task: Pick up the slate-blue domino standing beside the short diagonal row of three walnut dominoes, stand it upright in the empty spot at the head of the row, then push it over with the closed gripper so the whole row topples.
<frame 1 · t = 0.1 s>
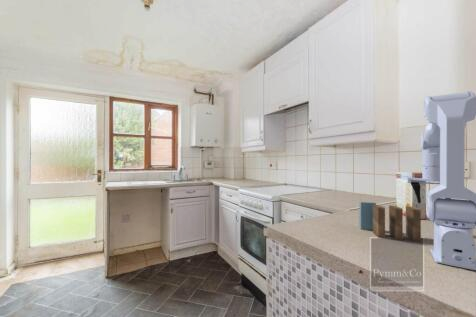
hand: (432, 204, 79), 10 cm above the counter, tool pointing down, fingers open, 7 cm apart
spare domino: (367, 229, 81), on the counter
domino 4: (413, 238, 72), on the counter
domino 3: (395, 236, 73), on the counter
cracker box: (410, 216, 104), on the counter
domino 2: (378, 235, 75), on the counter
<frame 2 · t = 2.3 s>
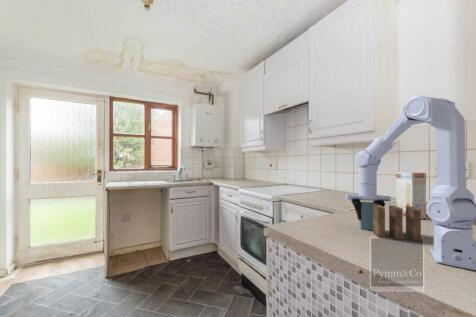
hand: (367, 220, 81), 3 cm above the counter, tool pointing down, fingers closed on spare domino, 5 cm apart
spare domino: (367, 229, 81), on the counter, touching gripper
everything else where it was.
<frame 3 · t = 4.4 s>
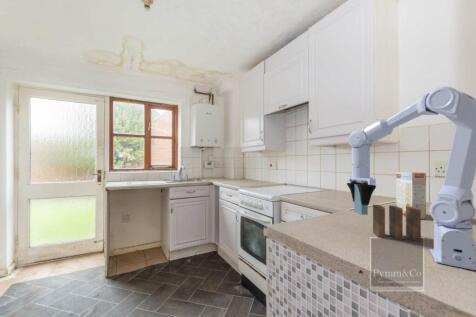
hand: (360, 203, 78), 10 cm above the counter, tool pointing down, fingers closed on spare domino, 5 cm apart
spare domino: (360, 213, 78), point 7 cm above the counter, touching gripper
everything else where it was.
when the fingers open (4 cm above the counter, at t = 6.5 s): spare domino drops 1 cm, on the counter.
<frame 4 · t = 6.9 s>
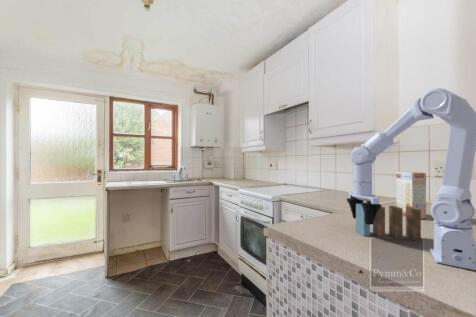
hand: (362, 221, 76), 4 cm above the counter, tool pointing down, fingers open, 7 cm apart
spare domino: (362, 233, 76), on the counter
everything else where it was.
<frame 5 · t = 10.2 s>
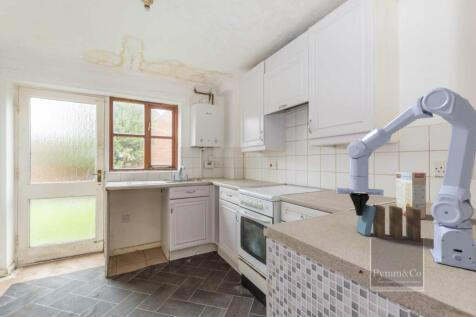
hand: (359, 215, 76), 6 cm above the counter, tool pointing down, fingers closed
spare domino: (362, 233, 76), on the counter, tilted 12°
everything else where it was.
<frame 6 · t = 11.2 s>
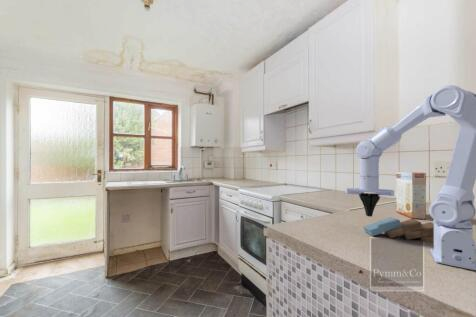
hand: (369, 215, 75), 6 cm above the counter, tool pointing down, fingers closed
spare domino: (367, 231, 75), point 1 cm above the counter, tilted 68°, touching domino 2
domino 4: (417, 237, 72), on the counter, tilted 90°
domino 3: (402, 234, 73), point 1 cm above the counter, tilted 71°, touching domino 2
domino 2: (386, 232, 74), point 1 cm above the counter, tilted 67°, touching domino 3, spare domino
everything else where it was.
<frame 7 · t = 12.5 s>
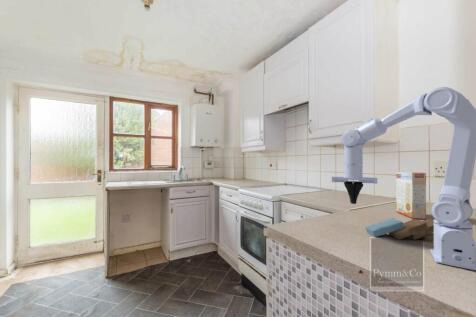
hand: (353, 203, 77), 10 cm above the counter, tool pointing down, fingers closed
domino 4: (420, 237, 72), on the counter, tilted 90°, touching domino 3
domino 3: (407, 234, 73), point 1 cm above the counter, tilted 67°, touching domino 2, domino 4
domino 2: (392, 234, 73), point 1 cm above the counter, tilted 67°, touching domino 3, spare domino
everything else where it was.
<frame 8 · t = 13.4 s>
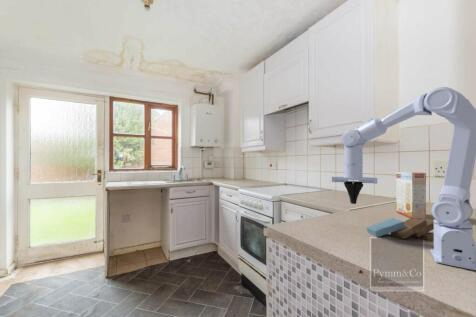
hand: (353, 203, 77), 10 cm above the counter, tool pointing down, fingers closed
domino 3: (409, 232, 74), point 1 cm above the counter, tilted 71°, touching domino 2, domino 4
domino 2: (396, 234, 72), point 1 cm above the counter, tilted 67°, touching domino 3, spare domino
at the end: domino 4 tilted 90°; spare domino tilted 70°; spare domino 2.7 cm from the target spot, point 0.9 cm above the counter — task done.
